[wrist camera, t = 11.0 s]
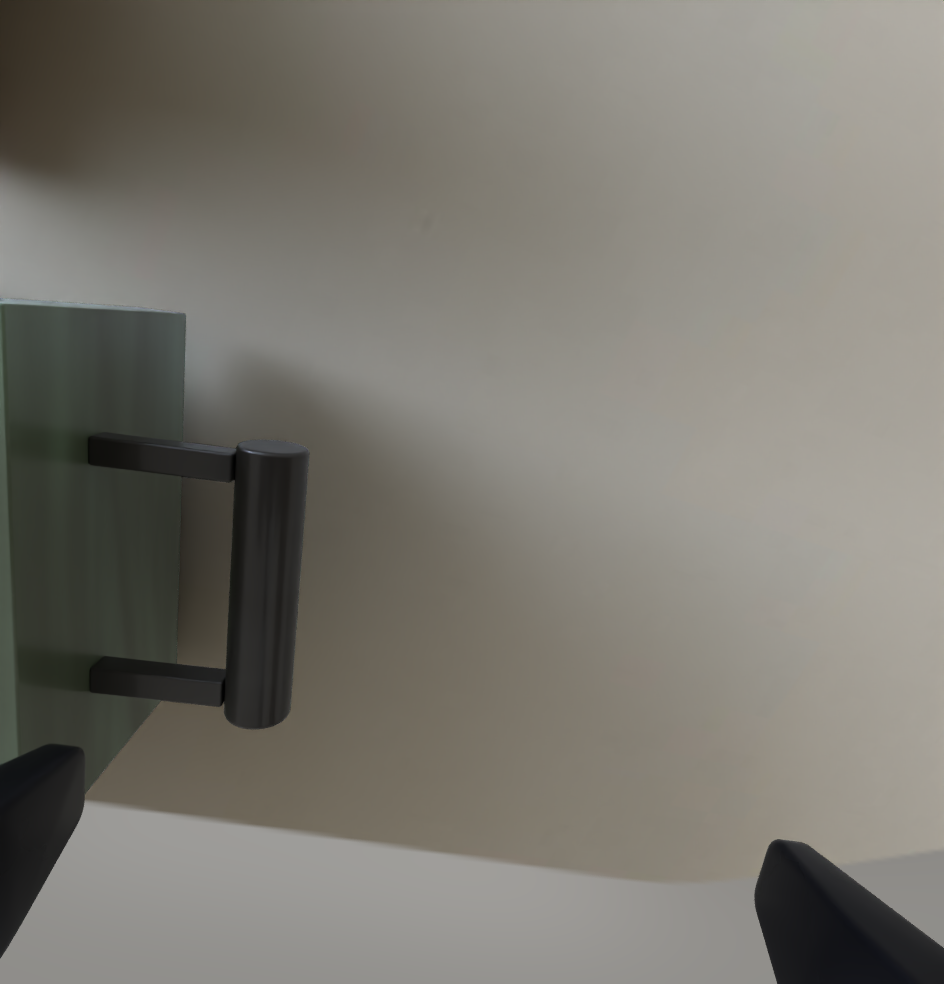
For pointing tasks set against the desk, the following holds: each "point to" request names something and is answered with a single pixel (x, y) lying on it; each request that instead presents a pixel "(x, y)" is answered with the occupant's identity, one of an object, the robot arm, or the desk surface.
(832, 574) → the desk surface
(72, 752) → the robot arm
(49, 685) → the drawer
